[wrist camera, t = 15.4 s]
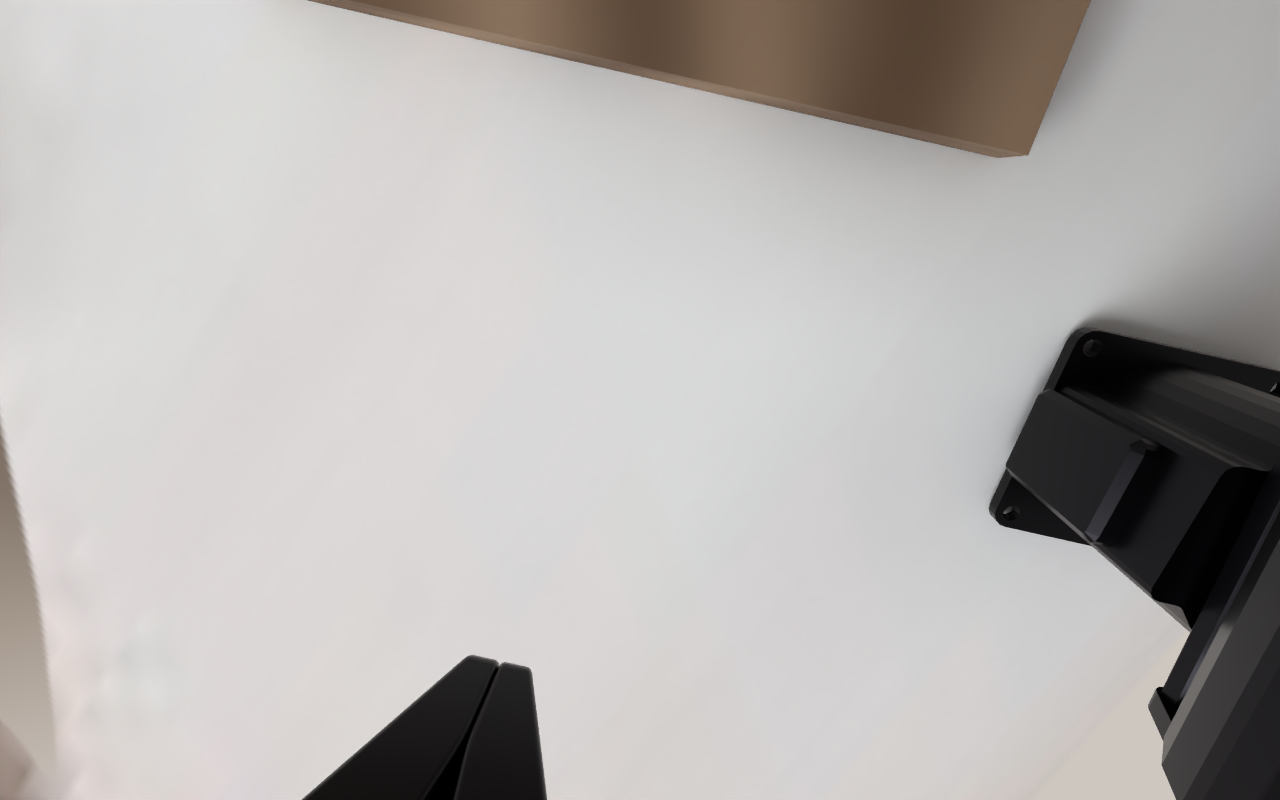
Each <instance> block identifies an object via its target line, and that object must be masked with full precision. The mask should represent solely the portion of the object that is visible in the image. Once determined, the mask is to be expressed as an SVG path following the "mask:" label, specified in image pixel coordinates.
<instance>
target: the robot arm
mask: <svg viewBox="0 0 1280 800" xmlns="http://www.w3.org/2000/svg"><path fill="white" fill-rule="evenodd" d="M1091 339H1092V340H1093V346H1092V347H1091V349H1090V350H1089V351H1087V352H1085V353H1084V352H1083V346H1084V345H1085V343H1086V342H1087V341H1089V340H1091ZM1276 383H1277V386H1276V388H1275V389H1274V390H1273V391H1272V392H1270V390H1271V388H1272V387H1273V386H1274V385H1275V384H1276ZM1006 467H1007V469H1006V471H1005V473H1004V475H1003V477H1002V479H1001V481H1000V483H999V486H998V488H997V490H996V492H995V494H994V496H993V498H992V500H991V503H990V506H989V512H990V514H991V516H992V517H993V518H994V519H995V520H996V521H997V522H998V523H999V524H1000V525H1002V526H1005V527H1009V528H1013V529H1018V530H1022V531H1027V532H1031V533H1036V534H1040V535H1045V536H1049V537H1054V538H1058V539H1063V540H1067V541H1072V542H1076V543H1081V544H1085V545H1090V546H1093V547H1094V548H1095V549H1096V550H1097V551H1098V552H1099V553H1101V554H1102V555H1103V556H1104V557H1105V558H1106V559H1107V560H1108V561H1110V562H1111V563H1112V564H1113V565H1114V566H1115V567H1116V568H1118V569H1119V570H1120V571H1121V572H1122V573H1123V574H1124V575H1126V576H1127V577H1128V578H1129V579H1130V580H1131V581H1132V582H1133V583H1135V584H1136V585H1137V586H1138V587H1139V588H1140V589H1141V590H1143V591H1144V592H1145V593H1146V594H1147V595H1148V596H1149V597H1151V598H1152V599H1153V600H1154V601H1155V602H1156V603H1157V604H1158V605H1160V606H1161V607H1162V608H1163V609H1164V610H1165V611H1166V612H1168V613H1169V614H1170V615H1171V616H1172V617H1173V618H1174V619H1176V620H1177V621H1178V622H1179V623H1180V624H1181V625H1182V626H1183V627H1185V628H1186V629H1187V630H1188V631H1189V632H1190V635H1189V636H1188V638H1187V641H1186V643H1185V645H1184V647H1183V649H1182V651H1181V653H1180V655H1179V657H1178V659H1177V661H1176V663H1175V665H1174V667H1173V669H1172V671H1171V673H1170V675H1169V677H1168V679H1167V681H1166V683H1165V685H1164V687H1158V688H1157V689H1156V690H1155V692H1154V694H1153V697H1152V698H1151V700H1150V702H1149V704H1148V708H1149V711H1150V713H1151V715H1152V717H1153V719H1154V721H1155V724H1156V726H1157V728H1158V730H1159V733H1160V735H1161V737H1162V739H1163V741H1164V744H1163V755H1162V767H1163V769H1164V772H1165V774H1166V776H1167V779H1168V781H1169V783H1170V786H1171V788H1172V790H1173V793H1174V795H1175V798H1176V800H1280V371H1279V370H1276V369H1272V368H1267V367H1263V366H1258V365H1254V364H1249V363H1245V362H1241V361H1236V360H1232V359H1227V358H1223V357H1218V356H1214V355H1210V354H1205V353H1201V352H1196V351H1192V350H1187V349H1183V348H1179V347H1174V346H1170V345H1165V344H1161V343H1157V342H1152V341H1148V340H1143V339H1139V338H1134V337H1130V336H1126V335H1121V334H1117V333H1112V332H1108V331H1103V330H1099V329H1095V328H1082V329H1079V330H1077V331H1075V332H1074V333H1073V334H1071V336H1070V337H1069V338H1068V340H1067V342H1066V344H1065V346H1064V348H1063V350H1062V352H1061V354H1060V356H1059V358H1058V361H1057V363H1056V365H1055V367H1054V369H1053V371H1052V373H1051V375H1050V378H1049V380H1048V382H1047V384H1046V386H1045V388H1044V390H1043V392H1042V393H1041V394H1039V395H1038V397H1037V399H1036V401H1035V404H1034V406H1033V408H1032V410H1031V412H1030V414H1029V416H1028V418H1027V421H1026V423H1025V425H1024V427H1023V429H1022V431H1021V433H1020V435H1019V438H1018V440H1017V442H1016V444H1015V446H1014V448H1013V450H1012V452H1011V455H1010V457H1009V459H1008V461H1007V463H1006ZM1010 506H1013V509H1012V510H1011V512H1009V513H1007V514H1003V512H1004V510H1005V509H1006V508H1008V507H1010ZM302 800H547V795H546V787H545V778H544V770H543V761H542V753H541V745H540V736H539V728H538V720H537V711H536V703H535V695H534V686H533V678H532V672H531V670H530V668H528V667H525V666H520V665H516V664H511V663H507V662H504V663H501V664H500V666H499V663H498V662H497V661H496V660H493V659H489V658H484V657H480V656H475V655H470V656H467V657H466V658H464V659H463V660H462V661H461V662H460V663H459V664H457V665H456V666H455V667H454V668H453V669H452V670H451V671H449V672H448V673H447V674H446V675H445V676H444V677H442V678H441V679H440V680H439V681H438V682H437V683H436V684H434V685H433V686H432V687H431V688H430V689H429V690H427V691H426V692H425V693H424V694H423V695H422V696H421V697H419V698H418V699H417V700H416V701H415V702H414V703H413V704H411V705H410V706H409V707H408V708H407V709H406V710H404V711H403V712H402V713H401V714H400V715H399V716H398V717H396V718H395V719H394V720H393V721H392V722H391V723H389V724H388V725H387V726H386V727H385V728H384V729H383V730H381V731H380V732H379V733H378V734H377V735H376V736H375V737H373V738H372V739H371V740H370V741H369V742H368V743H366V744H365V745H364V746H363V747H362V748H361V749H360V750H358V751H357V752H356V753H355V754H354V755H353V756H351V757H350V758H349V759H348V760H347V761H346V762H345V763H343V764H342V765H341V766H340V767H339V768H338V769H337V770H335V771H334V772H333V773H332V774H331V775H330V776H328V777H327V778H326V779H325V780H324V781H323V782H322V783H320V784H319V785H318V786H317V787H316V788H315V789H313V790H312V791H311V792H310V793H309V794H308V795H307V796H305V797H304V798H303V799H302Z"/></svg>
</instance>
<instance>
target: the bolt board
mask: <svg viewBox="0 0 1280 800" xmlns="http://www.w3.org/2000/svg"><path fill="white" fill-rule="evenodd" d="M308 1H313V2H317V3H321V4H326V5H330V6H335V7H339V8H343V9H348V10H352V11H357V12H361V13H365V14H370V15H374V16H378V17H383V18H387V19H392V20H396V21H400V22H405V23H409V24H414V25H418V26H422V27H427V28H431V29H435V30H440V31H444V32H449V33H453V34H457V35H462V36H466V37H471V38H475V39H479V40H484V41H488V42H492V43H497V44H501V45H506V46H510V47H514V48H519V49H523V50H528V51H532V52H536V53H541V54H545V55H550V56H554V57H558V58H563V59H567V60H571V61H576V62H580V63H585V64H589V65H593V66H598V67H602V68H607V69H611V70H615V71H620V72H624V73H628V74H633V75H637V76H642V77H646V78H650V79H655V80H659V81H664V82H668V83H672V84H677V85H681V86H685V87H690V88H694V89H699V90H703V91H707V92H712V93H716V94H721V95H725V96H729V97H734V98H738V99H742V100H747V101H751V102H756V103H760V104H764V105H769V106H773V107H778V108H782V109H786V110H791V111H795V112H799V113H804V114H808V115H813V116H817V117H821V118H826V119H830V120H835V121H839V122H843V123H848V124H852V125H856V126H861V127H865V128H870V129H874V130H878V131H883V132H887V133H892V134H896V135H900V136H905V137H909V138H913V139H918V140H922V141H927V142H931V143H935V144H940V145H944V146H949V147H953V148H957V149H962V150H966V151H971V152H975V153H979V154H984V155H988V156H992V157H997V158H1001V157H1012V156H1024V155H1028V154H1029V152H1030V149H1031V147H1032V144H1033V142H1034V139H1035V137H1036V134H1037V132H1038V129H1039V127H1040V125H1041V122H1042V120H1043V117H1044V115H1045V112H1046V110H1047V107H1048V105H1049V102H1050V100H1051V97H1052V95H1053V92H1054V90H1055V87H1056V85H1057V82H1058V80H1059V78H1060V75H1061V73H1062V70H1063V68H1064V65H1065V63H1066V60H1067V58H1068V55H1069V53H1070V50H1071V48H1072V45H1073V43H1074V40H1075V38H1076V36H1077V33H1078V31H1079V28H1080V26H1081V23H1082V21H1083V18H1084V16H1085V13H1086V11H1087V8H1088V6H1089V3H1090V1H1091V0H308Z"/></svg>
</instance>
